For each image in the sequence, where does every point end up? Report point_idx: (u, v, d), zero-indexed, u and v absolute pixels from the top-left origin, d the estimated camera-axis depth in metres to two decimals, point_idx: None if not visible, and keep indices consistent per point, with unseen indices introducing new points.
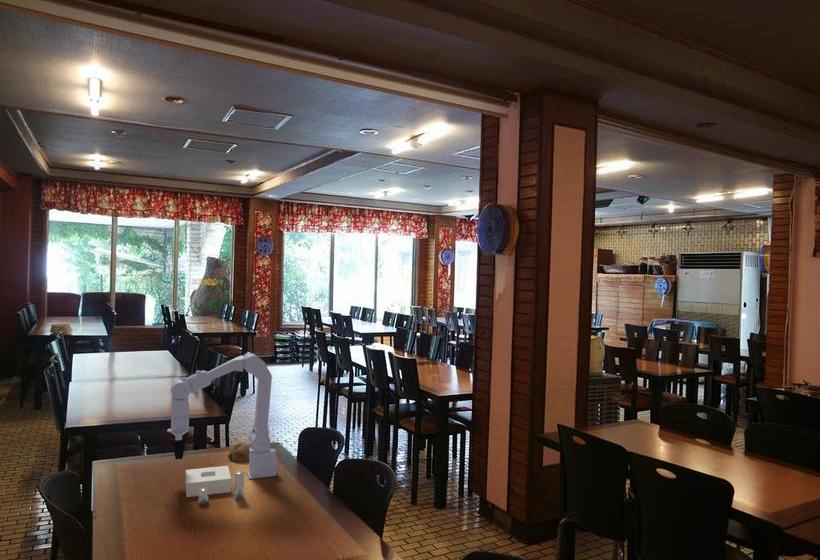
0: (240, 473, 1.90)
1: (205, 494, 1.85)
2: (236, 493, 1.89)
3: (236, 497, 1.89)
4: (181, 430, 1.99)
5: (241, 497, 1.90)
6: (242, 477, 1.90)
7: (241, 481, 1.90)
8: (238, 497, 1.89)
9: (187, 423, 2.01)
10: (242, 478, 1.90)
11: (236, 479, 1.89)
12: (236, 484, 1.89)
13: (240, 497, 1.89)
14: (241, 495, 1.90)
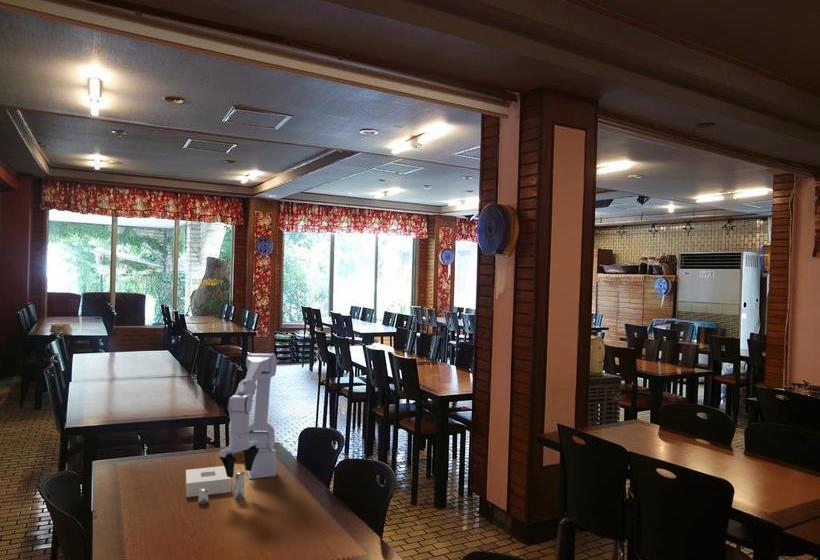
0: (240, 473, 1.90)
1: (205, 494, 1.85)
2: (236, 493, 1.89)
3: (236, 497, 1.89)
4: (234, 447, 1.88)
5: (241, 497, 1.90)
6: (242, 477, 1.90)
7: (242, 481, 1.90)
8: (238, 497, 1.89)
9: (242, 441, 1.88)
10: (242, 478, 1.90)
11: (236, 479, 1.89)
12: (236, 484, 1.89)
13: (240, 497, 1.89)
14: (241, 495, 1.90)
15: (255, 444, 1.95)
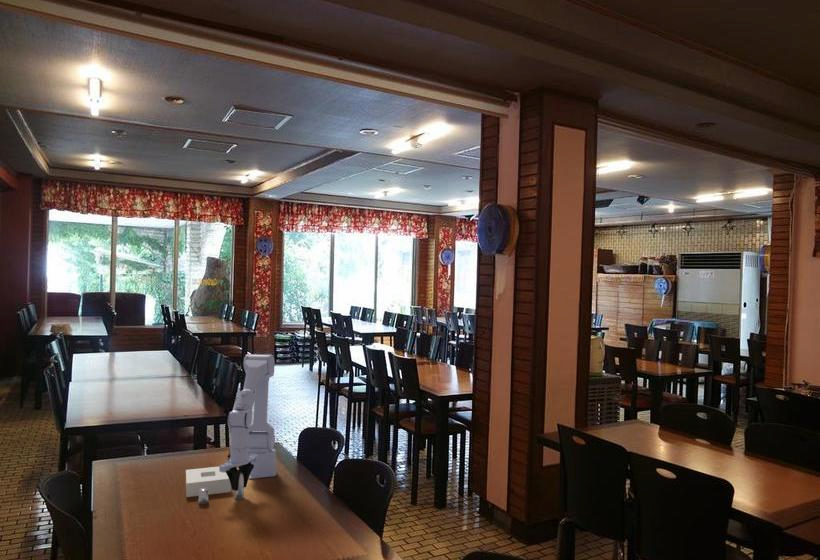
0: (240, 473, 1.90)
1: (205, 494, 1.85)
2: (236, 493, 1.89)
3: (236, 497, 1.89)
4: (233, 462, 1.88)
5: (241, 497, 1.90)
6: (242, 477, 1.90)
7: (241, 481, 1.90)
8: (238, 497, 1.89)
9: (242, 456, 1.88)
10: (242, 478, 1.90)
11: None
12: None
13: (240, 497, 1.89)
14: (241, 495, 1.90)
15: (255, 458, 1.95)
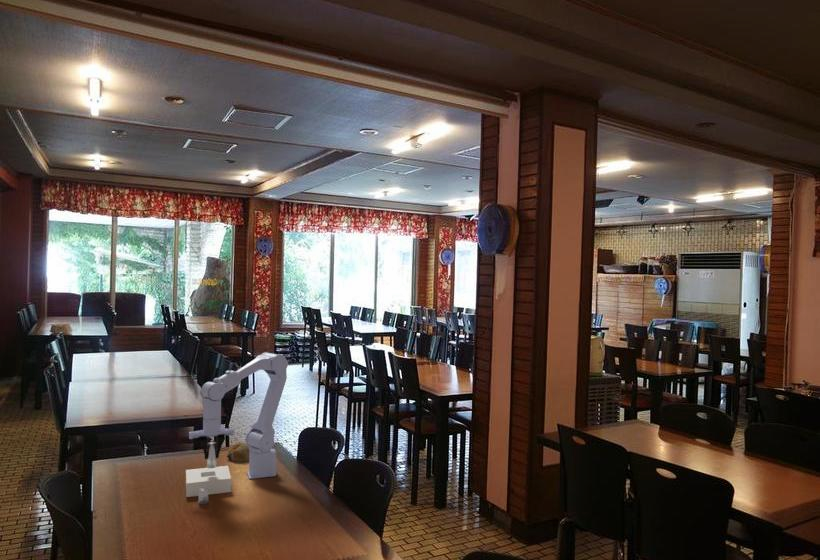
0: (212, 443, 1.97)
1: (205, 494, 1.85)
2: (207, 462, 1.97)
3: (207, 466, 1.97)
4: (203, 431, 1.97)
5: (211, 467, 1.97)
6: (212, 447, 1.97)
7: (212, 451, 1.97)
8: (208, 466, 1.97)
9: (208, 426, 1.95)
10: (212, 448, 1.97)
11: (207, 448, 1.97)
12: (207, 453, 1.97)
13: (210, 466, 1.97)
14: (211, 465, 1.97)
15: (230, 432, 2.00)
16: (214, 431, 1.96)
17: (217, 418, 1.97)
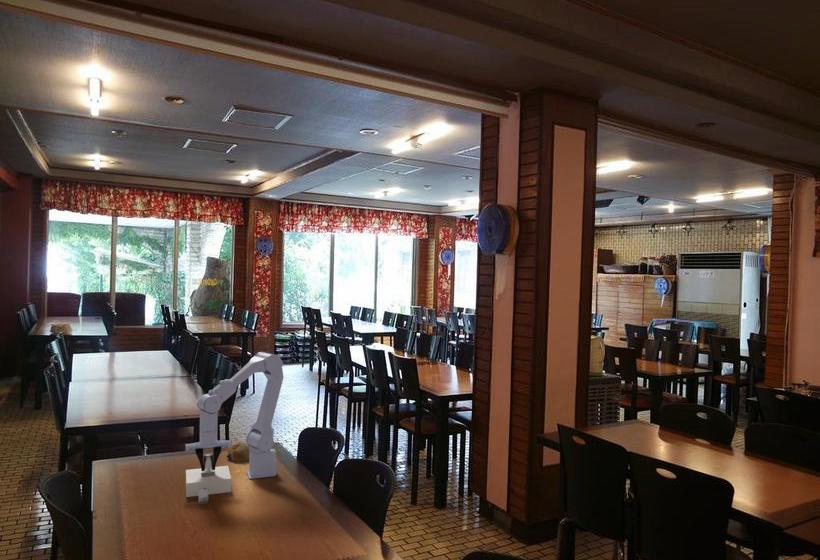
0: (208, 455, 1.99)
1: (205, 494, 1.85)
2: (203, 474, 1.98)
3: None
4: (199, 443, 1.98)
5: None
6: (209, 460, 1.98)
7: (208, 463, 1.98)
8: None
9: (205, 439, 1.96)
10: (209, 461, 1.98)
11: None
12: None
13: None
14: None
15: (227, 444, 2.01)
16: (210, 443, 1.97)
17: (213, 430, 1.98)
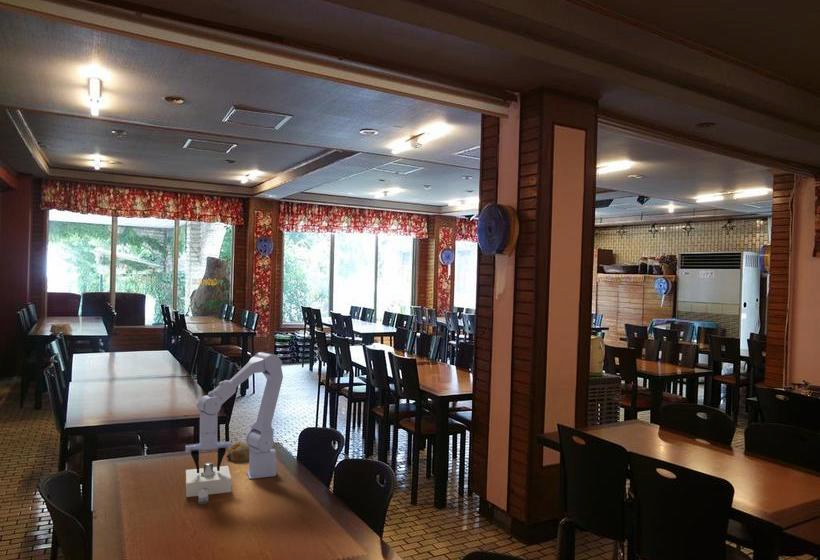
0: (208, 464, 1.99)
1: (205, 494, 1.85)
2: None
3: None
4: (199, 445, 1.98)
5: None
6: (209, 468, 1.98)
7: (208, 472, 1.98)
8: None
9: (205, 440, 1.96)
10: (209, 469, 1.98)
11: None
12: None
13: None
14: None
15: (227, 446, 2.01)
16: (210, 445, 1.97)
17: (213, 432, 1.98)
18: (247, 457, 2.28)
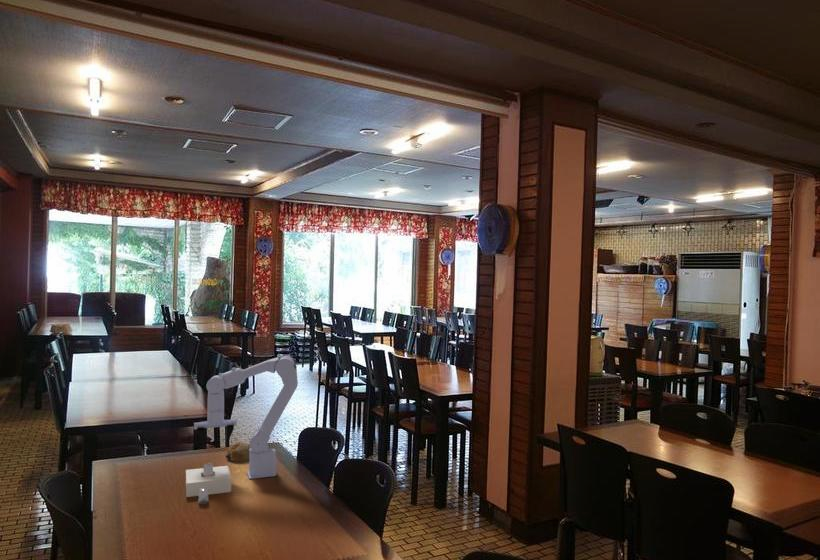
0: (208, 464, 1.99)
1: (205, 494, 1.85)
2: None
3: None
4: (207, 422, 2.09)
5: None
6: (209, 468, 1.98)
7: (208, 472, 1.98)
8: None
9: (212, 417, 2.07)
10: (209, 469, 1.98)
11: None
12: None
13: None
14: None
15: (233, 423, 2.12)
16: (218, 422, 2.08)
17: (220, 410, 2.09)
18: (247, 457, 2.28)
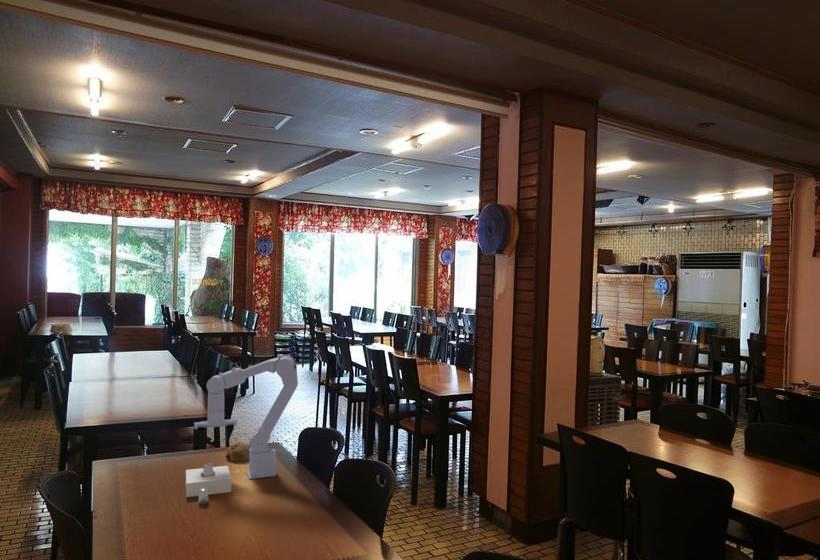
0: (208, 464, 1.99)
1: (205, 494, 1.85)
2: None
3: None
4: (207, 422, 2.09)
5: None
6: (209, 468, 1.98)
7: (208, 472, 1.98)
8: None
9: (212, 417, 2.08)
10: (209, 469, 1.98)
11: None
12: None
13: None
14: None
15: (233, 423, 2.12)
16: (218, 422, 2.08)
17: (221, 409, 2.09)
18: (246, 457, 2.28)
